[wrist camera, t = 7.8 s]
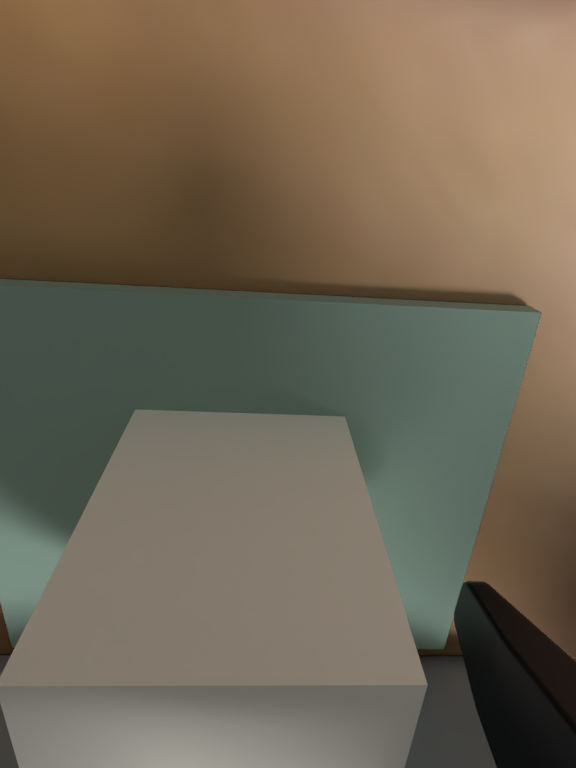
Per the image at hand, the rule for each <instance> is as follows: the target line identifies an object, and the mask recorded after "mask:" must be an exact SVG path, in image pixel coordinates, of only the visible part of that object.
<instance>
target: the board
mask: <svg viewBox="0 0 576 768" xmlns="http://www.w3.org/2000/svg"><path fill="white" fill-rule="evenodd" d="M540 316H541V312H539V311H537V310H536V309H534V308H532V307H530V306H522V305H502V304H483V303H463V302H444V301H424V300H405V299H386V298H366V297H347V296H327V295H308V294H288V293H269V292H250V291H230V290H211V289H191V288H172V287H152V286H133V285H114V284H94V283H75V282H55V281H36V280H16V279H0V603H1V607H2V611H3V615H4V619H5V623H6V626H7V630H8V634H9V638H10V642H11V646H12V648H15V646H16V644H17V642H18V640H19V638H20V636H21V634H22V633H23V631H24V629H25V627H26V625H27V623H28V621H29V619H30V617H31V615H32V613H33V611H34V609H35V607H36V605H37V603H38V601H39V599H40V597H41V595H42V593H43V591H44V589H45V587H46V585H47V583H48V581H49V579H50V577H51V575H52V573H53V571H54V569H55V567H56V565H57V563H58V561H59V559H60V557H61V555H62V553H63V551H64V549H65V547H66V545H67V543H68V541H69V539H70V538H71V536H72V534H73V532H74V530H75V528H76V526H77V524H78V522H79V520H80V518H81V516H82V514H83V512H84V510H85V508H86V506H87V504H88V502H89V500H90V498H91V496H92V494H93V492H94V490H95V488H96V486H97V484H98V482H99V480H100V478H101V476H102V474H103V472H104V470H105V468H106V466H107V464H108V462H109V460H110V458H111V456H112V454H113V452H114V450H115V448H116V446H117V445H118V443H119V441H120V439H121V437H122V435H123V433H124V431H125V429H126V427H127V425H128V423H129V421H130V419H131V417H132V415H133V413H134V411H135V409H138V410H168V411H198V412H228V413H257V414H287V415H317V416H345V418H346V421H347V425H348V428H349V431H350V434H351V438H352V441H353V444H354V447H355V451H356V454H357V457H358V460H359V464H360V467H361V470H362V473H363V477H364V480H365V483H366V486H367V490H368V493H369V496H370V499H371V503H372V506H373V509H374V512H375V516H376V519H377V522H378V525H379V529H380V532H381V535H382V538H383V542H384V545H385V548H386V551H387V555H388V558H389V561H390V564H391V568H392V571H393V574H394V577H395V581H396V584H397V587H398V590H399V594H400V597H401V600H402V603H403V607H404V610H405V613H406V616H407V619H408V623H409V626H410V629H411V632H412V636H413V639H414V642H415V645H416V649H444V647H445V644H446V640H447V637H448V634H449V630H450V627H451V623H452V620H453V616H454V611H455V607H456V603H457V600H458V597H459V593H460V590H461V587H462V584H463V582H464V578H465V575H466V571H467V568H468V565H469V561H470V558H471V554H472V551H473V547H474V544H475V540H476V537H477V534H478V530H479V527H480V523H481V520H482V516H483V513H484V509H485V506H486V503H487V499H488V496H489V492H490V489H491V485H492V482H493V478H494V475H495V472H496V468H497V465H498V461H499V458H500V454H501V451H502V447H503V444H504V441H505V437H506V434H507V430H508V427H509V423H510V420H511V416H512V413H513V410H514V406H515V403H516V399H517V396H518V392H519V389H520V385H521V382H522V378H523V375H524V372H525V368H526V365H527V361H528V358H529V354H530V351H531V347H532V344H533V341H534V337H535V334H536V330H537V327H538V323H539V320H540Z"/></svg>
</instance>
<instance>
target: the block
mask: <svg viewBox="0 0 576 768" xmlns="http://www.w3.org/2000/svg"><path fill="white" fill-rule="evenodd" d="M427 686H428V684H427V681H426V678H425V675H424V671H423V668H422V665H421V662H420V658H419V655H418V652H417V649H416V645H415V642H414V639H413V636H412V632H411V629H410V626H409V623H408V619H407V616H406V613H405V610H404V607H403V603H402V600H401V597H400V594H399V590H398V587H397V584H396V581H395V577H394V574H393V571H392V568H391V564H390V561H389V558H388V555H387V551H386V548H385V545H384V542H383V538H382V535H381V532H380V529H379V525H378V522H377V519H376V516H375V512H374V509H373V506H372V503H371V499H370V496H369V493H368V490H367V486H366V483H365V480H364V477H363V473H362V470H361V467H360V464H359V460H358V457H357V454H356V451H355V447H354V444H353V441H352V438H351V434H350V431H349V428H348V425H347V421H346V418H345V416H317V415H287V414H257V413H228V412H198V411H168V410H138V409H135V411H134V413H133V415H132V417H131V419H130V421H129V423H128V425H127V427H126V429H125V431H124V433H123V435H122V437H121V439H120V441H119V443H118V445H117V446H116V448H115V450H114V452H113V454H112V456H111V458H110V460H109V462H108V464H107V466H106V468H105V470H104V472H103V474H102V476H101V478H100V480H99V482H98V484H97V486H96V488H95V490H94V492H93V494H92V496H91V498H90V500H89V502H88V504H87V506H86V508H85V510H84V512H83V514H82V516H81V518H80V520H79V522H78V524H77V526H76V528H75V530H74V532H73V534H72V536H71V538H70V539H69V541H68V543H67V545H66V547H65V549H64V551H63V553H62V555H61V557H60V559H59V561H58V563H57V565H56V567H55V569H54V571H53V573H52V575H51V577H50V579H49V581H48V583H47V585H46V587H45V589H44V591H43V593H42V595H41V597H40V599H39V601H38V603H37V605H36V607H35V609H34V611H33V613H32V615H31V617H30V619H29V621H28V623H27V625H26V627H25V629H24V631H23V633H22V634H21V636H20V638H19V640H18V642H17V644H16V646H15V648H14V650H13V652H12V654H11V656H10V658H9V660H8V662H7V664H6V666H5V668H4V670H3V672H2V674H1V676H0V704H1V707H2V711H3V714H4V718H5V721H6V725H7V728H8V732H9V735H10V738H11V742H12V745H13V749H14V752H15V756H16V759H17V762H18V766H19V768H405V764H406V761H407V757H408V754H409V750H410V746H411V743H412V739H413V736H414V732H415V729H416V725H417V721H418V718H419V714H420V711H421V707H422V704H423V700H424V696H425V693H426V689H427Z"/></svg>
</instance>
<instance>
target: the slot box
mask: <svg viewBox="0 0 576 768" xmlns="http://www.w3.org/2000/svg"><path fill="white" fill-rule="evenodd" d="M10 656H11V655H0V676H1V674H2V672H3V670H4V668H5V666H6V664H7V662H8V660H9V658H10ZM419 658H420V662H421V665H422V668H423V671H424V675H425V678H426V681H427V684H428V686H427V689H426V693H425V696H424V700H423V704H422V707H421V711H420V714H419V718H418V721H417V725H416V729H415V732H414V736H413V739H412V743H411V746H410V750H409V754H408V757H407V761H406V764H405V768H497V767H496V764H495V761H494V759H493V756H492V753H491V750H490V747H489V744H488V742H487V739H486V736H485V733H484V730H483V727H482V725H481V722H480V719H479V716H478V713H477V710H476V706H475V703H474V699H473V695H472V692H471V687H470V683H469V679H468V675H467V671H466V667H465V663H464V659H463V656H419ZM0 768H19V766H18V762H17V759H16V756H15V752H14V749H13V745H12V742H11V738H10V735H9V732H8V728H7V725H6V721H5V718H4V714H3V711H2V707H1V704H0Z"/></svg>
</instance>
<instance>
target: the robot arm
mask: <svg viewBox="0 0 576 768" xmlns="http://www.w3.org/2000/svg"><path fill="white" fill-rule="evenodd" d="M454 622H455V627H456V631H457V635H458V639H459V643H460V647H461V651H462V655H463V659H464V663H465V667H466V671H467V675H468V679H469V683H470V687H471V692H472V695H473V699H474V703H475V706H476V710H477V713H478V716H479V719H480V722H481V725H482V727H483V730H484V733H485V736H486V739H487V742H488V744H489V747H490V750H491V753H492V756H493V759H494V761H495V764H496V767H497V768H576V661H575V660H573V659H572V658H571V657H570V656H569V655H568V654H567V653H565V652H564V651H563V650H562V649H561V648H560V647H559V646H558V645H556V644H555V643H554V642H553V641H552V640H551V639H550V638H549V637H547V636H546V635H545V634H544V633H543V632H542V631H541V630H540V629H538V628H537V627H536V626H535V625H534V624H533V623H532V622H531V621H529V620H528V619H527V618H526V617H525V616H524V615H523V614H521V613H520V612H519V611H518V610H517V609H516V608H515V607H514V606H512V605H511V604H510V603H509V602H508V601H507V600H506V599H505V598H503V597H502V596H501V595H500V594H499V593H498V592H497V591H496V590H494V589H493V588H492V587H491V586H490V585H489V584H487V583H485V582H480V581H467V582H464V583H463V584H462V587H461V590H460V593H459V597H458V600H457V603H456V607H455V611H454Z"/></svg>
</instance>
